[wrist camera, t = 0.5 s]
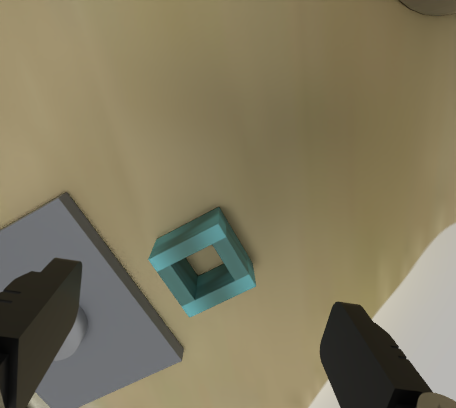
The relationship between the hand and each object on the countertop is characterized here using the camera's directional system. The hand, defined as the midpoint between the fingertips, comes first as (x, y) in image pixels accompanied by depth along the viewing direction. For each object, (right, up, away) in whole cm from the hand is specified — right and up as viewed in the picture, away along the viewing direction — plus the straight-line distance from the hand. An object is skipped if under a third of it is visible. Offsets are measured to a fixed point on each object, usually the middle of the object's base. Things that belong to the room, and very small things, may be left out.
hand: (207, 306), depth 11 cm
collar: (-1, -1, +19) cm, 19 cm away
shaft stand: (-14, -6, +21) cm, 26 cm away
